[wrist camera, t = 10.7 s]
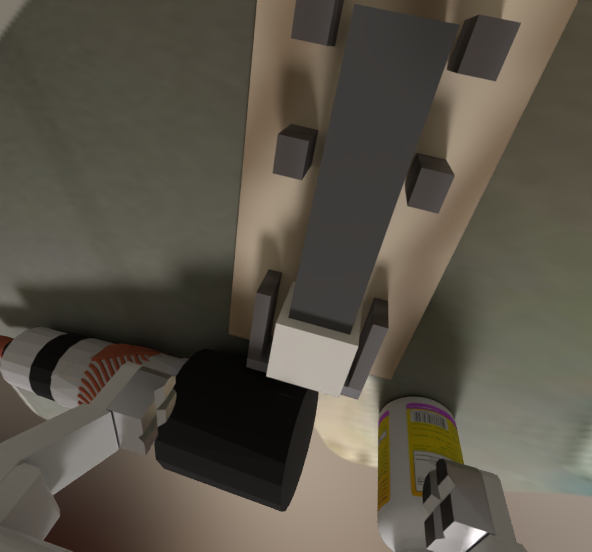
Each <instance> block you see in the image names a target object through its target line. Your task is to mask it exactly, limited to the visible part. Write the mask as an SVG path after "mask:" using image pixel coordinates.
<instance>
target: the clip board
mask: <svg viewBox="0 0 592 552" xmlns="http://www.w3.org/2000/svg"><path fill="white" fill-rule="evenodd" d="M577 2H578V0H257V9H256V20H255V32H254V43H253V55H252V66H251V78H250V89H249V101H248V112H247V124H246V136H245V147H244V159H243V170H242V182H241V193H240V205H239V216H238V228H237V239H236V251H235V262H234V274H233V285H232V297H231V308H230V320H229V331H228V334H230V335H234V336H237V337H241V338H244V339H248V340H250V342H249V349H248V357H247V364H246V367H248V368H251V369H255V370H258V371H262V372H265V373H267V369H268V363H269V358H270V353H271V347H272V342H273V337H274V331H275V326H276V322H277V320H278V317H279V315H280V312H281V310H282V307H283V305H284V302H285V300H286V297H287V295H288V292H289V290H290V287H291V285H292V282H296V279H297V274H298V269H299V265H300V260H301V255H302V250H303V246H304V241H305V236H306V231H307V227H308V222H309V217H310V212H311V208H312V203H313V198H314V193H315V189H316V184H317V179H318V175H319V170H320V165H321V160H322V156H323V151H324V146H325V141H326V137H327V132H328V127H329V122H330V118H331V113H332V108H333V103H334V99H335V94H336V89H337V84H338V80H339V75H340V70H341V65H342V61H343V56H344V51H345V46H346V42H347V37H348V32H349V27H350V23H351V18H352V13H353V8H354V4H358V5H363V6H368V7H373V8H378V9H383V10H388V11H393V12H398V13H403V14H408V15H413V16H418V17H423V18H428V19H433V20H438V21H443V22H449V23H454V24H459V25H460V26H459V28H458V31H457V34H456V37H455V40H454V43H453V45H452V48H451V51H450V54H449V57H448V60H447V62H446V65H445V68H444V71H443V74H442V76H441V79H440V82H439V85H438V88H437V91H436V93H435V96H434V99H433V102H432V105H431V107H430V110H429V113H428V116H427V119H426V122H425V124H424V127H423V130H422V133H421V136H420V139H419V141H418V144H417V147H416V150H415V153H414V155H413V158H412V161H411V164H410V167H409V170H408V172H407V175H406V178H405V181H404V184H403V187H402V189H401V192H400V195H399V198H398V201H397V203H396V206H395V209H394V212H393V215H392V218H391V220H390V223H389V226H388V229H387V232H386V235H385V237H384V240H383V243H382V246H381V249H380V251H379V254H378V257H377V260H376V263H375V266H374V268H373V271H372V274H371V277H370V280H369V282H368V285H367V288H366V291H365V294H364V297H363V299H362V300H363V303H362V314H361V325H360V336H359V346H358V349H357V352H356V354H355V357H354V359H353V362H352V365H351V367H350V370H349V373H348V375H347V378H346V380H345V383H344V386H343V388H342V391H341V393H340V394H341V395H344V396H347V397H351V398H354V399H358V398H359V396H360V393H361V391H362V389H363V387H364V384H365V382H366V380H367V377H368V375H369V374H370V375H374V376H377V377H381V378H384V379H388V380H391V379H392V377H393V375H394V373H395V370H396V368H397V366H398V364H399V362H400V360H401V358H402V356H403V354H404V352H405V350H406V348H407V346H408V344H409V342H410V340H411V338H412V336H413V334H414V332H415V330H416V328H417V326H418V324H419V322H420V320H421V318H422V316H423V314H424V312H425V310H426V308H427V306H428V304H429V302H430V300H431V298H432V296H433V294H434V292H435V290H436V287H437V285H438V283H439V281H440V279H441V277H442V275H443V273H444V271H445V269H446V267H447V265H448V263H449V261H450V259H451V257H452V255H453V253H454V251H455V249H456V247H457V245H458V243H459V241H460V239H461V237H462V235H463V233H464V231H465V229H466V227H467V225H468V223H469V221H470V219H471V217H472V215H473V213H474V211H475V209H476V207H477V204H478V202H479V200H480V198H481V196H482V194H483V192H484V190H485V188H486V186H487V184H488V182H489V180H490V178H491V176H492V174H493V172H494V170H495V168H496V166H497V164H498V162H499V160H500V158H501V156H502V154H503V152H504V150H505V148H506V146H507V144H508V142H509V140H510V138H511V136H512V134H513V132H514V130H515V128H516V126H517V123H518V121H519V119H520V117H521V115H522V113H523V111H524V109H525V107H526V105H527V103H528V101H529V99H530V97H531V95H532V93H533V91H534V89H535V87H536V85H537V83H538V81H539V79H540V77H541V75H542V73H543V71H544V69H545V67H546V65H547V63H548V61H549V59H550V57H551V55H552V53H553V51H554V49H555V47H556V45H557V43H558V40H559V38H560V36H561V34H562V32H563V30H564V28H565V26H566V24H567V22H568V20H569V18H570V16H571V14H572V12H573V10H574V8H575V6H576V4H577Z"/></svg>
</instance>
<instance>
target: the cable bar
mask: <svg viewBox="0 0 592 552" xmlns="http://www.w3.org/2000/svg"><path fill="white" fill-rule="evenodd" d="M459 26H460V25H459V24H454V23H449V22H443V21H438V20H433V19H428V18H423V17H418V16H413V15H408V14H403V13H398V12H393V11H388V10H383V9H378V8H373V7H368V6H363V5H358V4H354V8H353V13H352V18H351V23H350V27H349V32H348V37H347V42H346V46H345V51H344V56H343V61H342V65H341V70H340V75H339V80H338V84H337V89H336V94H335V99H334V103H333V108H332V113H331V118H330V122H329V127H328V132H327V137H326V141H325V146H324V151H323V156H322V160H321V165H320V170H319V175H318V179H317V184H316V189H315V193H314V198H313V203H312V208H311V212H310V217H309V222H308V227H307V231H306V236H305V241H304V246H303V250H302V255H301V260H300V265H299V269H298V274H297V279H296V282H292V285H291V287H290V290H289V292H288V295H287V297H286V300H285V302H284V305H283V307H282V310H281V312H280V315H279V317H278V320H277V322H276V326H275V331H274V337H273V342H272V347H271V353H270V358H269V363H268V369H267V374H266V376H267V377H270V378H274V379H277V380H280V381H284V382H287V383H291V384H294V385H298V386H301V387H304V388H308V389H311V390H315V391H318V392H321V393H325V394H328V395H332V396H335V397H339V396H340V393H341V391H342V388H343V386H344V383H345V380H346V378H347V375H348V373H349V370H350V367H351V365H352V362H353V359H354V357H355V354H356V352H357V349H358V346H359V336H360V325H361V314H362V303H363V300H362V299H363V297H364V294H365V291H366V288H367V285H368V282H369V280H370V277H371V274H372V271H373V268H374V266H375V263H376V260H377V257H378V254H379V251H380V249H381V246H382V243H383V240H384V237H385V235H386V232H387V229H388V226H389V223H390V220H391V218H392V215H393V212H394V209H395V206H396V203H397V201H398V198H399V195H400V192H401V189H402V187H403V184H404V181H405V178H406V175H407V172H408V170H409V167H410V164H411V161H412V158H413V155H414V153H415V150H416V147H417V144H418V141H419V139H420V136H421V133H422V130H423V127H424V124H425V122H426V119H427V116H428V113H429V110H430V107H431V105H432V102H433V99H434V96H435V93H436V91H437V88H438V85H439V82H440V79H441V76H442V74H443V71H444V68H445V65H446V62H447V60H448V57H449V54H450V51H451V48H452V45H453V43H454V40H455V37H456V34H457V31H458V28H459Z"/></svg>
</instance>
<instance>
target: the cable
mask: <svg viewBox="0 0 592 552" xmlns="http://www.w3.org/2000/svg"><path fill="white" fill-rule="evenodd" d="M0 357H1V358H2V360H1V372H2V375H3V378H4V379H5V380H6V381H7V382H8V383H9V384H12V385H14V386H17V387H20V388H23V389H26V390H29V391H31V392H34V393H36V394H37V395H39V396H42V397H45V398H47V399H50V400H53V401H56V403H58V404H60V405H62V406H65V407H68V408H71V409H73V408H75V407H77V406H79V405H81V404H83V403H86V404H90V402H91V401H92V400H93V399H94V398H95V397H96V395H97V394H98V393H99V392H100V391H101V390H102V388H103V387H104V386H105V385H106V384H107V383H108V381H109V380H110V379H111V378H112V377H113V375H114V374H115V373H116V372H117V371H118V370H119V368H120V367H121V366H122V365H123V364H125V363H126V362H128V361H130V362H133V363H136V364H139V365H143V366H145V367H148V368H151V369H154V370H158V371H161V372H164V373H167V374H170V375H173V376H175V379H176V384H175V385H174V387H173V389H174V390H175V391H176V401H175V405H174V408H173V410H172V413H171V415H170V416H169V418H168V420H167V421H166V422H165V423H164V424H162V425H160V426H158V436H157V438H156V440H155V441H154V443H153V444H154V445H155V455H156V460H157V461H158V462H159V463H160V464H161V466H162V467H163V468H164V469H167V470H170V471H172V472H175V473H178V474H181V475H183V476H186V477H189V478H191V479H194V480H197V481H200V482H202V483H205V484H208V485H211V486H213V487H216V488H219V489H221V490H224V491H227V492H230V493H232V494H235V495H238V496H241V497H244V498H246V499H249V500H252V501H254V502H257V503H260V504H262V505H265V506H268V507H271V508H273V509H276V510H279V511H286V509H287V507H288V506H289V504H290V502H291V500H292V497H293V495H294V492H295V490H296V487H297V485H298V482H299V478H300V476H301V473H302V469H303V466H304V462H305V459H306V455H307V452H308V448H309V443H310V439H311V435H312V430H313V426H314V421H315V416H316V409H317V402H318V391H315V390H311V389H308V388H304V387H301V386H298V385H294V384H291V383H287V382H284V381H280V380H277V379H274V378H270V377H267V376H266V374H267V373H265V372H262V371H258V370H255V369H251V368H248V367H246V364H247V359H246V358H243V357H239V356H235V355H231V354H227V353H223V352H219V351H215V350H211V349H203V350H200V351H198V352H196V353H195V354H194V355H193V356H192V357H191V358H190V359H187V358H182V359H180V358H177V357H173V356H170V355H168V354H164V353H161V352H159V351H157V350H154V349H150V348H146V347H141V346H135V345H128V344H124V343H122V344H120V343H117V344H114V343H110V342H107V341H103V340H100V339H94V338H87V337H84V336H80V335H77V334H69V333H68V334H67V333H64V332H60V331H56V330H53V329H49V328H45V327H35V328H32V329H29V330H26V331H24V332H23V333H21V334H20V335H19V336H17V337H16V338H14V339H13V338H10V337H7V336H2V335H1V336H0Z"/></svg>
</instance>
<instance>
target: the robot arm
mask: <svg viewBox="0 0 592 552" xmlns="http://www.w3.org/2000/svg"><path fill="white" fill-rule="evenodd" d="M175 384H176V379H175V376H173V375H170V374H167V373H164V372H161V371H158V370H154V369H151V368H148V367H145V366H143V365H139V364H136V363H133V362H130V361H128V362H126V363H125V364H123V365H122V366H121V367H120V368H119V370H118V371H117V372H116V373H115V374H114V375H113V377H112V378H111V379H110V380H109V381H108V383H107V384H106V385H105V386H104V387H103V388H102V390H101V391H100V392H99V393H98V394H97V395H96V397H95V398H94V399H93V400H92V401H91V402H90V404H86V403H83V404H81V405H79V406H77V407H75V408H73V409H71V410H69V411H67V412H64V413H62V414H60V415H58V416H56V417H54V418H52V419H50V420H48V421H46V422H44V423H42V424H40V425H37V426H35V427H33V428H31V429H29V430H27V431H25V432H23V433H21V434H19V435H17V436H14V437H12V438H10V439H8V440H6V441H4V442H2V443H0V552H72V551H70V550H67V549H64V548H61V547H59V546H56V545H53V544H51V543H48V542H45V541H43V540H44V538H45V537H46V535H47V534H48V532H49V531H50V529H51V528H52V527H53V525H54V524H55V522H56V521H57V519H58V518H59V517H60V510H59V508H58V506H57V504H56V501H55V499H54V497H53V494H55V493H57V492H58V491H59V490H61V489H62V488H64V487H65V486H66V485H68V484H70V483H71V482H72V481H74V480H75V479H77V478H78V477H80V476H81V475H83V474H84V473H85V472H87V471H88V470H90V469H91V468H93V467H94V466H96V465H97V464H98V463H100V462H101V461H103V460H104V459H106V458H107V457H109V456H110V455H111V454H112V453H114V452H116V451H117V450H118V449H119V448H122V449H125V450H129V451H132V452H135V453H139V454H142V455H147V453H148V451H149V450H150V448H151V446H152V445H153V443H154V441H155V440H156V438H157V436H158V426H160V425H162V424H164V423H165V422H166V421H167V420H168V418H169V416H170V415H171V413H172V410H173V408H174V405H175V401H176V391H175V390H174V389H173V387H174V385H175ZM118 447H119V448H118ZM422 498H423V506H424V507H425V509H426V511H427V512H428V514H429V516H428V517H427V519H426V520H425V521H424V527H425V540H426V549H428V550H431V551H433V552H527V551H526V549H525V548H524V546H523V545H521V544H519V543H517V542H516V538H515V535H514V531H513V527H512V524H511V519H510V516H509V512H508V508H507V504H506V501H505V497H504V493H503V489H502V485H501V481H500V479H499V478H498V476H497V475H495V474H493V473H490V472H486V471H483V470H479V469H477V468H474V467H471V466H467V465H464V464H461V463H457V462H454V461H450V460H447V459H443V458H442V459H439V460H438V461H437V462H436V470H433V471H430V472H429V473H428V474H427V476H426V477H425V481H424V484H423V492H422Z"/></svg>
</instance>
